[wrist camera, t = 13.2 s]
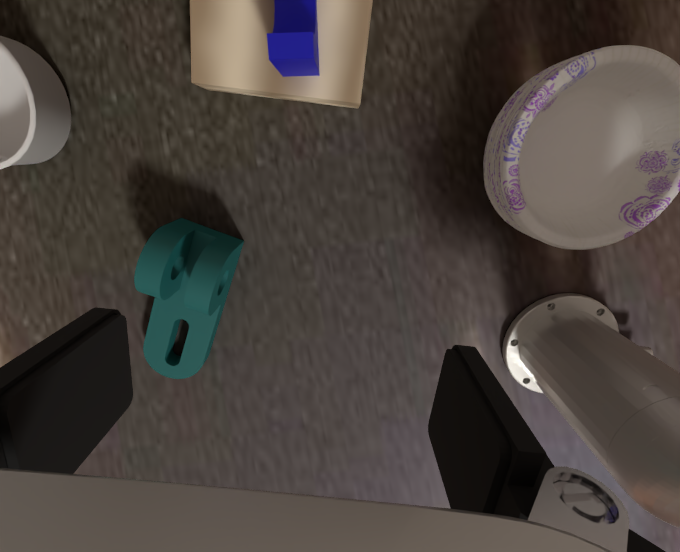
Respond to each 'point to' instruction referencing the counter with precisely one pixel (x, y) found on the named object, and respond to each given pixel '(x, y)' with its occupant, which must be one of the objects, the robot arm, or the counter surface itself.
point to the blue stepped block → (294, 38)
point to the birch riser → (253, 60)
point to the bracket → (185, 292)
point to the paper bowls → (588, 148)
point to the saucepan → (30, 107)
